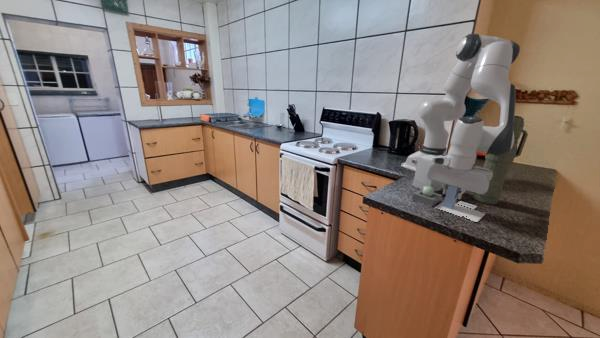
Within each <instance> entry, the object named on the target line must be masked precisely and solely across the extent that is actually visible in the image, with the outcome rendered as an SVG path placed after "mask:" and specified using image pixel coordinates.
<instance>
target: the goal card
mask: <svg viewBox="0 0 600 338" xmlns="http://www.w3.org/2000/svg"><path fill="white" fill-rule="evenodd" d="M456 204H457V205H458V204H459V205H460V206H461V205H462V206H463V207H464V206H465V207H466V208H467V207H468V208H469V209H470V208H471V209H472V210H476V209H477V208H478V206H477V205H475V204H471V203H468V202H465V201H462V200H460V201H458V202H456Z"/></svg>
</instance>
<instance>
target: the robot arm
mask: <svg viewBox="0 0 600 338" xmlns="http://www.w3.org/2000/svg"><path fill="white" fill-rule="evenodd" d="M520 49H521V48H520V44H519V43H518V42H515V41H513V40H508V39H505V38H502V37H499V36H498V37H497V36H491V35H484V34H479V33H468V34H467V35H465V36H463V38H462V39H461V41H460V42H459V43H458V45H457V48H456V51H455V55H456V56H455V57H456V59H457V63H456V64H455V65H454V67H453V69H452V70H451V71H450V73H449V75H448V77H447V79H446V81H445V83H444V84H443V89H444V91H445V95H444V97H443V99H431V100H427V101H424V102H423V103H421V104H420V106H419V107H418V115H419V118H420V119H421V120H422V122H423V123H424V127H425V132H424V133H425V134H424V141H423V144H421V145H419V146H418V149H419V150H418V151H415V152H414V153H411V154H410V155H408V156H407V158H406V161H405V162H402V163H401V165H400V167H402V168H404V169H407V170H410V171H413V172H416V167H417V162H418V157H419V156H425V155H434V156H436V157H434V158H433V159H432V162H433V163H431V164H430V165H429V168H428V171H427V175H426V176H427V178H428V179H430V180H434V181H437V182H441V183H442V184H441V186H442V188H441V189H442V195H445V196H446V193H447V189H448V187H447V186H449V185H451V186H455V187H458V188H460V191H461V192H460V193H459V192H458V193H457V194H456V197H455V198H457V199H456V200H461V199H462V195H463V194H465V192H467V191H469V192H472V193H474V192H476V193H479V194H484V193H486V192H487V191H488V188H489V181H490V180H491V179H492V176H493V172H492V171H491V170H489V168H485V167H484V166H480V165H476V160H477V155H478V153H485V154H486V153H487V154H492V155H496V156H500V155H503V154H505V153H507V152H509V151H510V150H511V149H512V147H513V145H514V131H513V125H514V116H516V114H515V113H516V100H517V99H516V98H517V97H516V96H517V92H516V91H517V90H516V86H515V84H513V83H511V82H510V79H509V73H510V70H511V66H512V65H513V63H514V62H515V61H516V60H517V58H518V56H519V54H520V51H521V50H520ZM471 89H472V90H473V92H475V93H476V94H478V95H479V96H481V97H483V98H487V99H488V100H491V101H493V102H495V103H497V104H498V105H499V107H500V116H499V121H500V124H499V126H497V125H496V126H497V127H495V126H491V125H490V126H489V125H484V120H483V119H482V118H480V117H478V116H471V115H468V116H464V115H465V113H466V112H467V111H466V110H467V109H466V104H465V99H466V97H467V94H468V93H469V91H470V90H471ZM452 121H456V123H455V125H454V129H451V130H452V131H451V134H449V131H447V129H446V127H445V122H452ZM449 135H450V138H449ZM448 140H449V143H450V148H449V149H448V151H447V145H448ZM489 171H490V172H489Z"/></svg>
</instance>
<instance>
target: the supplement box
mask: <svg viewBox="0 0 600 338" xmlns="http://www.w3.org/2000/svg"><path fill="white" fill-rule="evenodd" d="M434 157H436V156H434V155H425V156H419V157H418V162H417V167H416V171H414V172H415V173H414V178H413V183H412V187H413V186H414V187H413V188H416V189H418V188H419V190H421V189H423V187H424V186H430V187H433V188H434V193H436V192H438V191H442V189H443V188H442V186H441V184H442V183H441V182H437V181H434V180H430V179H428V178H427V176H426V175H427V171H428V168H429V165H430V164H431V163H433V162H432V159H433V158H434Z"/></svg>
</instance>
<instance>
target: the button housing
mask: <svg viewBox="0 0 600 338" xmlns="http://www.w3.org/2000/svg"><path fill="white" fill-rule="evenodd" d="M422 192H423V189H419V190H417V191H415V192H414V193H413V194H412V199H414V200H416V201H419V202H421V203H420V204H422V203H424V204H423V205H425V204H427V205H430V206H433V207H435V206H436V205H437V203H438V204H440V203H441V201H442V196H443V194H439V193H437V192H434V193H433V197H432V198H430V197H427V196H424V195H422ZM412 199H411V200H412ZM414 200H413V201H414ZM416 201H415V202H416ZM419 202H418V203H419ZM435 204H436V205H435ZM427 205H426V206H427ZM430 206H429V207H430Z"/></svg>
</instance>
